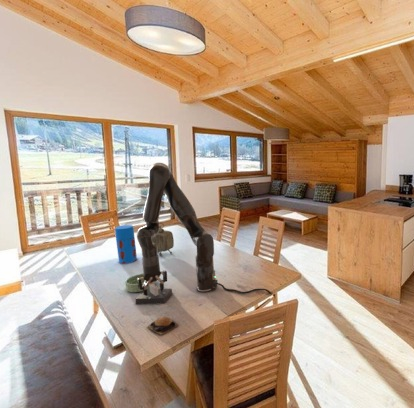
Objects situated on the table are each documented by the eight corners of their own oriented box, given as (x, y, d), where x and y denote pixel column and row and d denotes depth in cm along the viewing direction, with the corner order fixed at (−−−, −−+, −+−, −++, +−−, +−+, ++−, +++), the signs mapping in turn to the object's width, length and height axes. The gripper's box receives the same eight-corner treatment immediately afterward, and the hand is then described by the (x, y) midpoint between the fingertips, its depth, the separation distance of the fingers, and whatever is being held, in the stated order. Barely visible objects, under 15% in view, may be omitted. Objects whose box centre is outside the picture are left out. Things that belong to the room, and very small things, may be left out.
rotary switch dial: (172, 293, 152) (172, 287, 152) (163, 303, 141) (163, 298, 141) (146, 293, 151) (145, 288, 151) (135, 304, 140) (134, 299, 140)
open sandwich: (146, 328, 122) (145, 320, 121) (165, 318, 129) (164, 311, 128) (160, 336, 116) (159, 328, 116) (178, 325, 123) (177, 318, 123)
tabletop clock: (174, 253, 212) (172, 221, 208) (166, 257, 204) (163, 224, 199) (158, 251, 215) (155, 220, 210) (149, 256, 206) (146, 223, 202)
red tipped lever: (158, 294, 144) (157, 286, 143) (155, 296, 143) (154, 287, 142) (153, 290, 148) (152, 282, 148) (149, 291, 147) (149, 283, 146)
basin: (160, 280, 167) (159, 273, 166) (148, 292, 152) (147, 284, 151) (135, 281, 166) (134, 273, 165) (120, 293, 151) (119, 285, 150)
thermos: (130, 263, 192) (126, 229, 187) (115, 263, 192) (110, 229, 187) (140, 257, 202) (136, 225, 198) (125, 257, 203) (121, 224, 198)
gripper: (138, 269, 135) (141, 300, 138) (168, 261, 145) (171, 290, 148) (132, 265, 140) (136, 295, 143) (162, 257, 150) (165, 285, 153)
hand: (154, 292), depth 146 cm, fingers open, 7 cm apart
